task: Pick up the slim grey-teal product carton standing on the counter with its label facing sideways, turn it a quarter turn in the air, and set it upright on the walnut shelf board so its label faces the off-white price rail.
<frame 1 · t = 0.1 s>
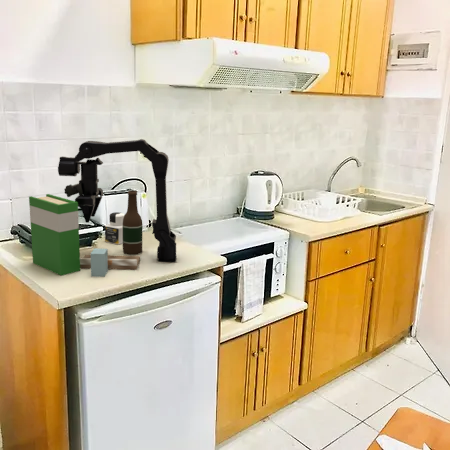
hand: (90, 219, 185), 15 cm above the worktop, tool pointing down, fingers open, 9 cm apart
beer bottle: (132, 252, 198), on the worktop
medicine bottle: (117, 242, 211), on the worktop
hardback book: (56, 267, 178), on the worktop
shelf board: (110, 264, 183), on the worktop
product carton: (99, 273, 173), on the worktop
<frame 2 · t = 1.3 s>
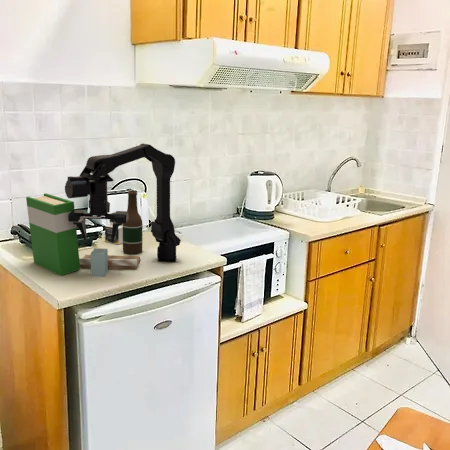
hand: (99, 241, 170), 11 cm above the worktop, tool pointing down, fingers open, 9 cm apart
hardback book: (56, 266, 178), on the worktop, touching gripper
everything else where it was.
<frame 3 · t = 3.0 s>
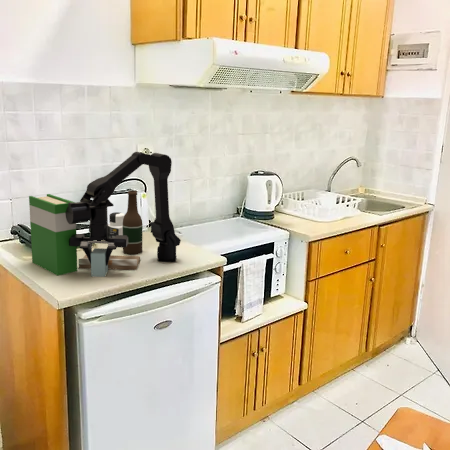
hand: (99, 265, 172), 3 cm above the worktop, tool pointing down, fingers closed on product carton, 5 cm apart
hardback book: (54, 267, 178), on the worktop
product carton: (99, 273, 173), on the worktop, touching gripper
everything else where it was.
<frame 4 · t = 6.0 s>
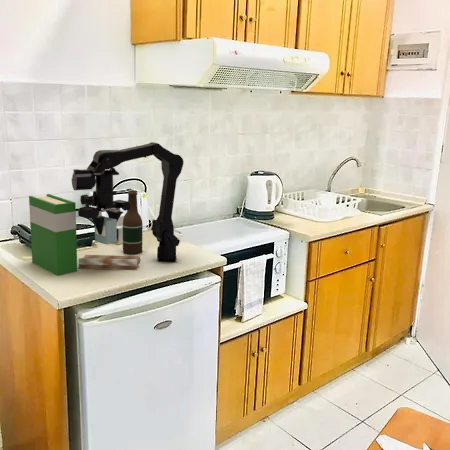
hand: (105, 233, 175), 13 cm above the worktop, tool pointing down, fingers closed on product carton, 5 cm apart
product carton: (105, 241, 176), point 10 cm above the worktop, touching gripper
everything else where it was.
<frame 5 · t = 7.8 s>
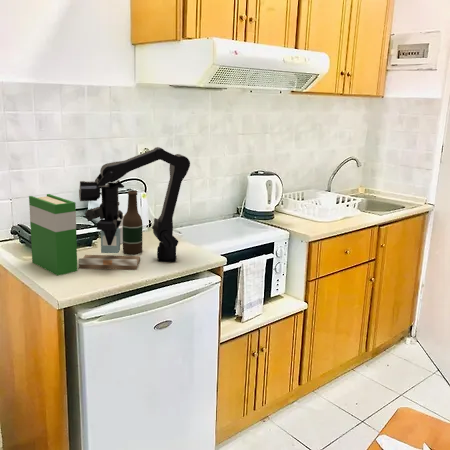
hand: (110, 243, 181), 8 cm above the worktop, tool pointing down, fingers closed on product carton, 5 cm apart
product carton: (110, 251, 182), point 5 cm above the worktop, touching gripper
everything else where it was.
when the fingers open (6 cm above the worktop, at t = 9.0 s): product carton drops 1 cm, resting on shelf board.
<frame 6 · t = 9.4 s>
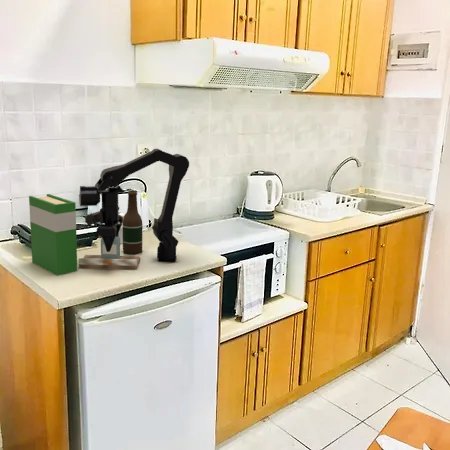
hand: (110, 247, 182), 6 cm above the worktop, tool pointing down, fingers open, 9 cm apart
product carton: (110, 259, 183), point 1 cm above the worktop, touching shelf board
everything else where it was.
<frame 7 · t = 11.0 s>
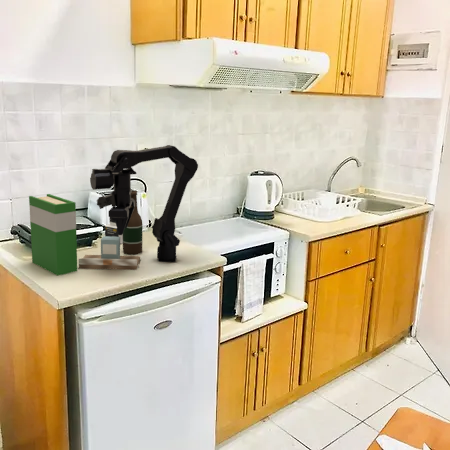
hand: (122, 231, 178), 13 cm above the worktop, tool pointing down, fingers open, 9 cm apart
nothing on the worktop moved.
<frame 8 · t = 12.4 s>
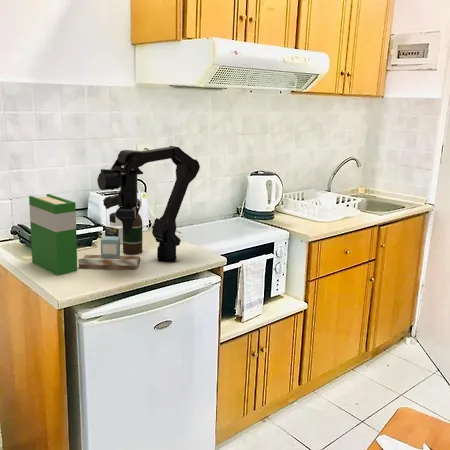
hand: (128, 231, 177), 13 cm above the worktop, tool pointing down, fingers open, 9 cm apart
nothing on the worktop moved.
at the end: product carton inside the target area (0.3 cm from its centre), point 1.5 cm above the worktop; product carton tilted 0°; the gripper is holding nothing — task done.
